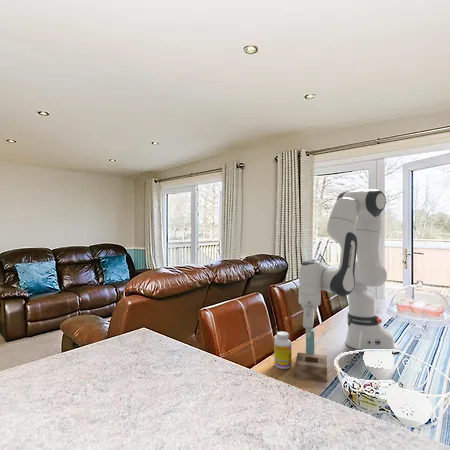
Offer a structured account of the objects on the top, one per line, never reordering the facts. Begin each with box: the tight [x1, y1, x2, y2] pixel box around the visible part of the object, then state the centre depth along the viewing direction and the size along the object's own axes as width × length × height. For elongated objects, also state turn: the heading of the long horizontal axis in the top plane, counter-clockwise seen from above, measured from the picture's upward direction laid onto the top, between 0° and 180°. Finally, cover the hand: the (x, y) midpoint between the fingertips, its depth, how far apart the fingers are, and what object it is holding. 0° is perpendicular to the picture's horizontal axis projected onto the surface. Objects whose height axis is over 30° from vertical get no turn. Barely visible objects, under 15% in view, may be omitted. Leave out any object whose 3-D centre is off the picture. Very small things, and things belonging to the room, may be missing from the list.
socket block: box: [294, 352, 328, 383], centre depth 118 cm, size 11×11×5 cm
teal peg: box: [305, 328, 315, 354], centre depth 131 cm, size 3×3×12 cm
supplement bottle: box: [273, 331, 292, 370], centre depth 124 cm, size 7×7×13 cm
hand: (308, 333), depth 131 cm, fingers open, 8 cm apart
